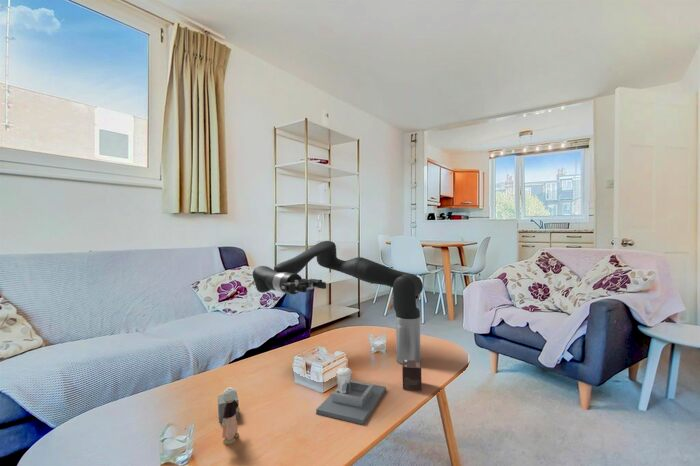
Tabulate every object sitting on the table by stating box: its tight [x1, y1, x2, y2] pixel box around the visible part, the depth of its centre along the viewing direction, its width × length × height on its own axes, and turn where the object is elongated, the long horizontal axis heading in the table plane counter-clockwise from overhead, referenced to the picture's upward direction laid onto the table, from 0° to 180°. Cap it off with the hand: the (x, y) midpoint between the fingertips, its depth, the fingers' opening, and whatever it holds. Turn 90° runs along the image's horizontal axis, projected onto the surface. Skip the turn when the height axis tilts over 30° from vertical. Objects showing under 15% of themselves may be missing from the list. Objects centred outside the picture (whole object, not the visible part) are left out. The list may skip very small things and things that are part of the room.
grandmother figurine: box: [221, 386, 241, 445], centre depth 81 cm, size 8×4×13 cm, turn 5°
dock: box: [315, 379, 387, 426], centre depth 99 cm, size 20×14×4 cm
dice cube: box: [217, 394, 240, 423], centre depth 92 cm, size 5×5×5 cm
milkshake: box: [335, 360, 353, 395], centre depth 98 cm, size 5×5×10 cm
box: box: [401, 360, 423, 391], centre depth 108 cm, size 6×6×7 cm
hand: (315, 287), depth 112 cm, fingers open, 8 cm apart
